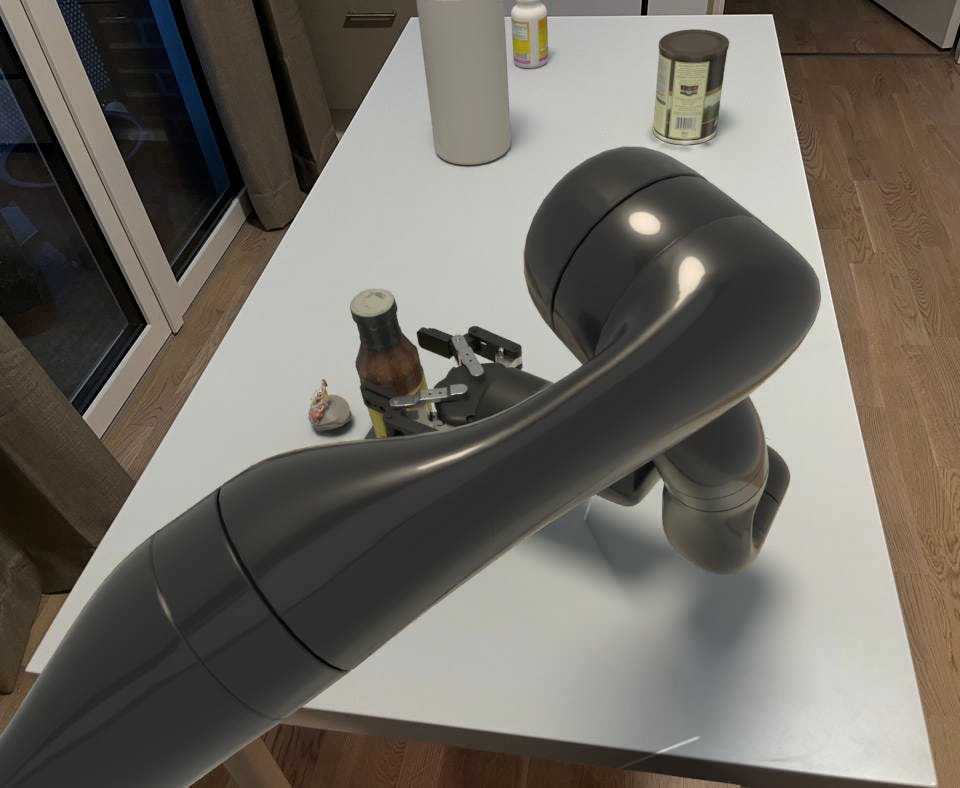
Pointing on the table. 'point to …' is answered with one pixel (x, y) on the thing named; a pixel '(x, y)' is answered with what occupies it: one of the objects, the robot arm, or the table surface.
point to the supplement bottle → (529, 33)
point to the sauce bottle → (385, 350)
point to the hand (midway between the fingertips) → (392, 362)
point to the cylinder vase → (466, 78)
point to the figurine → (328, 410)
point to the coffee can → (689, 85)
